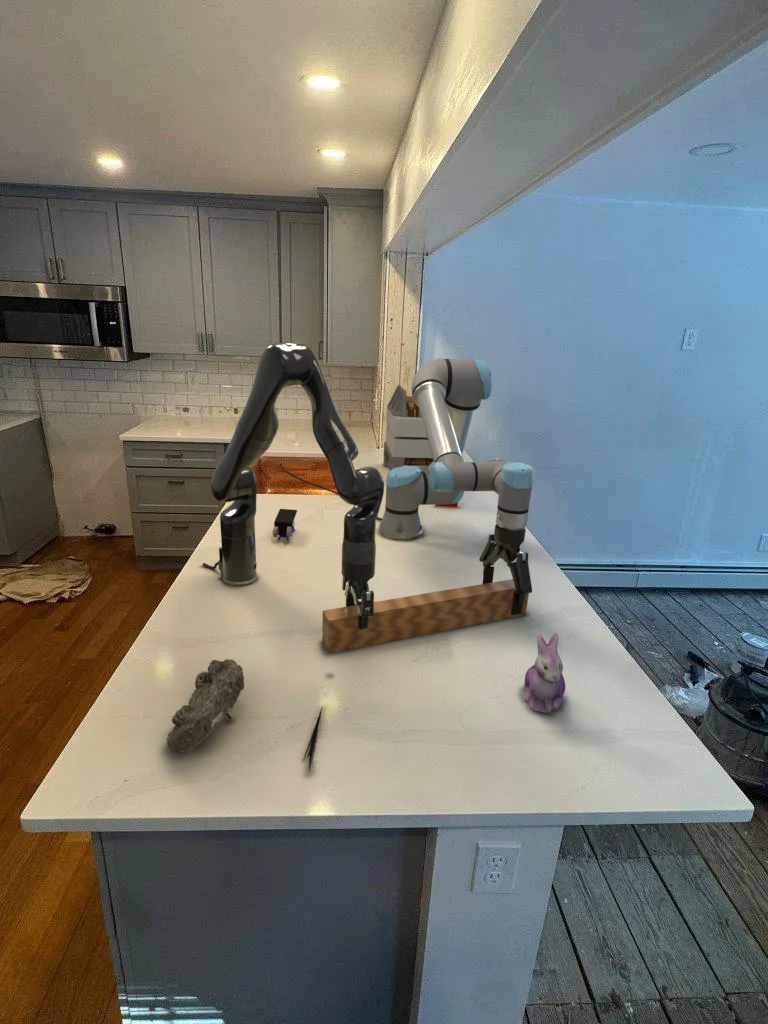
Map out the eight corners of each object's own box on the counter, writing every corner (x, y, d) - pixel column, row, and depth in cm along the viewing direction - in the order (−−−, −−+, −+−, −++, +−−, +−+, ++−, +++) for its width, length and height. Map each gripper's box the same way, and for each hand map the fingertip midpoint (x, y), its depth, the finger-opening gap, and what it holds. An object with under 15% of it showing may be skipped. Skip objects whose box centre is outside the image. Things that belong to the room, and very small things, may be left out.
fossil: (192, 660, 117) (244, 628, 112) (224, 691, 120) (276, 661, 115) (142, 746, 98) (202, 712, 93) (182, 779, 101) (242, 748, 96)
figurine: (543, 721, 111) (554, 655, 106) (509, 690, 119) (518, 628, 114) (578, 708, 115) (591, 644, 110) (543, 679, 123) (553, 619, 118)
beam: (515, 606, 154) (519, 577, 151) (525, 614, 150) (530, 585, 147) (322, 642, 134) (322, 610, 131) (328, 653, 129) (328, 620, 127)
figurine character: (292, 547, 188) (298, 526, 201) (292, 527, 184) (297, 507, 198) (272, 547, 187) (279, 526, 201) (271, 526, 184) (278, 506, 197)
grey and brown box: (382, 463, 289) (386, 382, 275) (445, 464, 293) (451, 384, 279) (390, 482, 257) (394, 392, 243) (460, 483, 261) (468, 394, 247)
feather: (331, 679, 122) (336, 673, 122) (307, 777, 96) (313, 769, 95) (324, 675, 122) (329, 669, 121) (298, 772, 95) (304, 764, 95)
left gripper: (332, 545, 131) (331, 607, 137) (353, 571, 119) (351, 638, 125) (363, 541, 134) (361, 602, 140) (386, 567, 122) (383, 632, 127)
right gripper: (471, 510, 150) (464, 581, 157) (528, 546, 128) (516, 627, 136) (495, 507, 153) (487, 578, 160) (555, 542, 131) (542, 622, 139)
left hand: (356, 619), depth 132 cm, fingers open, 8 cm apart
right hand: (500, 601), depth 148 cm, fingers open, 13 cm apart
